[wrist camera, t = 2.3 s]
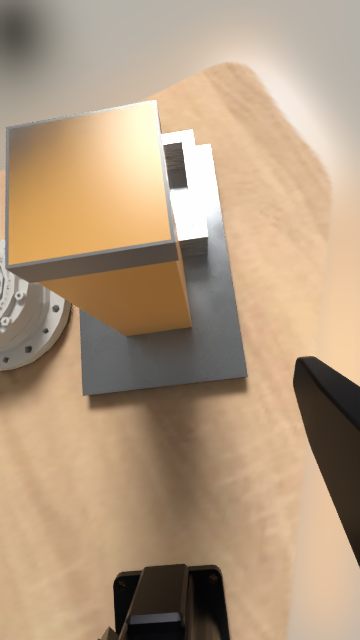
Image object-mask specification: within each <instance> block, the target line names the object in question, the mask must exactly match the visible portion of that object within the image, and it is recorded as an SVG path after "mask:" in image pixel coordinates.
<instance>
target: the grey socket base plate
mask: <svg viewBox="0 0 360 640" xmlns="http://www.w3.org/2000/svg"><path fill="white" fill-rule="evenodd" d="M162 138H163V145H164V152H165V160H166V167H167V175H168V182H169V189H170V196H171V201H172V206H173V212H174V217H175V222H176V228H177V233H178V239H179V244H180V249H181V255H182V260H183V266H184V273H185V280H186V287H187V295H188V302H189V309H190V316H191V324H192V327H189V328H181V329H174V330H167V331H160V332H153V333H146V334H139V335H132V336H125V335H123V334H121V333H120V332H118V331H116V330H115V329H113V328H111V327H110V326H108V325H107V324H105V323H103V322H102V321H100V320H98V319H97V318H95V317H93V316H92V315H90V314H88V313H87V312H85V311H83V310H82V309H80V308H79V309H80V335H81V361H82V387H83V396H85V395H94V394H103V393H111V392H120V391H129V390H137V389H146V388H154V387H163V386H172V385H180V384H189V383H197V382H206V381H215V380H223V379H232V378H240V377H248V376H247V370H246V364H245V357H244V351H243V345H242V339H241V332H240V326H239V320H238V314H237V308H236V301H235V295H234V289H233V283H232V277H231V270H230V264H229V258H228V252H227V246H226V239H225V233H224V227H223V221H222V214H221V208H220V202H219V196H218V190H217V183H216V177H215V171H214V165H213V159H212V152H211V146H210V144H208V145H202V146H196V147H195V144H194V137H193V130H188V131H182V132H176V133H170V134H164V135H162Z"/></svg>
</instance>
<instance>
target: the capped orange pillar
mask: <svg viewBox="0 0 360 640" xmlns="http://www.w3.org/2000/svg"><path fill="white" fill-rule="evenodd" d="M5 269H6V270H8V271H10V272H11V273H13V274H15V275H17V276H18V277H20V278H22V279H23V280H25V281H27V282H29V283H35V282H37V283H39V284H41V285H42V286H44V287H46V288H47V289H49V290H50V291H52V292H54V293H55V294H57V295H59V296H60V297H62V298H64V299H65V300H67V301H69V302H70V303H72V304H74V305H75V306H77V307H79V308H80V309H82V310H83V311H85V312H87V313H88V314H90V315H92V316H93V317H95V318H97V319H98V320H100V321H102V322H103V323H105V324H107V325H108V326H110V327H111V328H113V329H115V330H116V331H118V332H120V333H121V334H123V335H125V336H132V335H139V334H146V333H153V332H160V331H167V330H174V329H181V328H189V327H192V324H191V316H190V309H189V302H188V295H187V287H186V280H185V273H184V266H183V260H182V255H181V249H180V244H179V239H178V233H177V228H176V222H175V217H174V212H173V206H172V201H171V196H170V189H169V182H168V175H167V167H166V160H165V152H164V145H163V138H162V131H161V125H160V119H159V113H158V108H157V102H156V100H151V101H146V102H140V103H135V104H129V105H124V106H119V107H113V108H108V109H102V110H97V111H92V112H87V113H81V114H75V115H70V116H65V117H60V118H54V119H48V120H43V121H37V122H32V123H27V124H22V125H16V126H10V127H7V128H6V206H5Z"/></svg>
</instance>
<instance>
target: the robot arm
mask: <svg viewBox="0 0 360 640" xmlns="http://www.w3.org/2000/svg"><path fill="white" fill-rule="evenodd" d="M293 387H294V391H295V395H296V399H297V402H298V406H299V409H300V413H301V416H302V420H303V423H304V427H305V431H306V434H307V437H308V441H309V444H310V446H311V449H312V452H313V454H314V456H315V459H316V461H317V464H318V466H319V469H320V471H321V473H322V476H323V479H324V481H325V483H326V486H327V488H328V491H329V493H330V496H331V498H332V501H333V503H334V506H335V508H336V510H337V513H338V515H339V518H340V520H341V523H342V525H343V528H344V530H345V533H346V535H347V537H348V540H349V542H350V545H351V547H352V549H353V552H354V555H355V557H356V560H357V562H358V565H359V566H360V387H359V386H358V385H356V384H355V383H353V382H352V381H350V380H349V379H347V378H346V377H344V376H343V375H341V374H340V373H338V372H337V371H335V370H334V369H332V368H331V367H329V366H328V365H326V364H325V363H323V362H322V361H320V360H319V359H317V358H316V357H313V356H307V357H299V358H297V360H296V364H295V371H294V378H293ZM211 574H216V575H217V578H216V579H211V578H210V575H211ZM119 581H124V582H125V585H126V586H121V585H120V583H119ZM113 590H114V609H115V628H116V633H115V632H114V631H113V630H112V629H111V628H110V627H108V629H107V630H106V632H105V633H104V635H103V636H102V638H101V639H98V640H230V636H229V628H228V620H227V612H226V604H225V596H224V588H223V580H222V573H221V570H220V569H219V567H217V566H216V565H204V566H192V567H188V566H186V565H185V564H176V565H164V566H151V567H145V568H144V570H142V571H129V572H121V573H119V574H118V575H117V577H116V579H115V581H114V585H113Z"/></svg>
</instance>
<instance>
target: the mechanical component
mask: <svg viewBox="0 0 360 640" xmlns="http://www.w3.org/2000/svg"><path fill="white" fill-rule="evenodd" d="M70 308H71V303H70V302H69V301H67V300H65V299H64V298H62V297H60V296H59V295H57V294H55V293H54V292H52V291H50V290H49V289H47V288H46V287H44V286H42V285H41V284H39V283H37V282H35V283H29V282H27V281H25V280H23V279H22V278H20V277H18V276H17V275H15V274H13V273H11V272H10V271H8V270H6V269H5V240H0V371H4V370H13V369H16V368H19V367H22V366H25V365H28V364H30V363H33V362H34V361H35V360H37V359H38V358H39V357H41V356H42V355H43V354H44V353H46V352H47V351H48V350H49V349H51V347H52V346H53V345H54V344H55V343H56V341H57V340H58V339H59V337H60V335H61V334H62V332H63V330H64V328H65V326H66V324H67V322H68V317H69V313H70Z"/></svg>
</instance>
